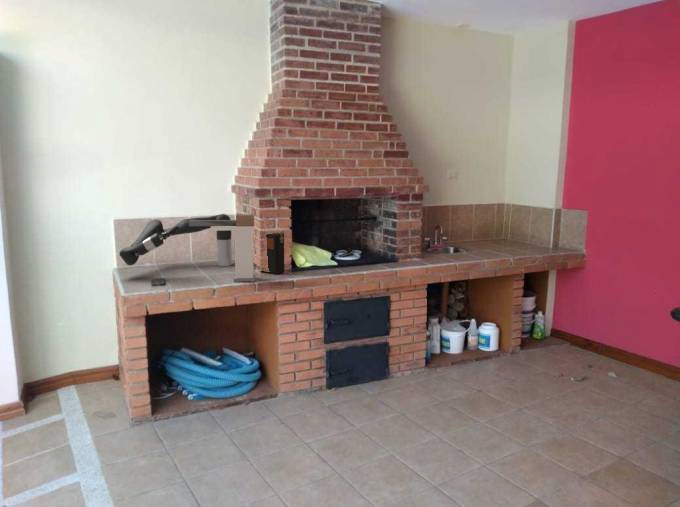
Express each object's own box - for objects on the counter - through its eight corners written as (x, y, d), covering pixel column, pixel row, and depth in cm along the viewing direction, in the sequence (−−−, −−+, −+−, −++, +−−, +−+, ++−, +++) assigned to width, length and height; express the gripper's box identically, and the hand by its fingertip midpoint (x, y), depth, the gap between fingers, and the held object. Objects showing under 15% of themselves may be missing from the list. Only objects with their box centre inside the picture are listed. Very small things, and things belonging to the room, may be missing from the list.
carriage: (190, 225, 309) (189, 214, 308) (254, 224, 314) (254, 214, 313) (188, 226, 302) (188, 216, 301) (254, 226, 308) (253, 215, 306)
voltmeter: (286, 272, 336) (285, 232, 331) (277, 275, 329) (277, 234, 324) (266, 269, 344) (265, 230, 339) (257, 272, 336) (256, 232, 332)
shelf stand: (213, 278, 319) (212, 224, 312) (255, 277, 322) (254, 224, 316) (212, 282, 309) (210, 227, 303) (255, 281, 312) (254, 226, 306)
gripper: (159, 245, 324) (182, 232, 324) (154, 250, 310) (179, 235, 310) (152, 234, 322) (175, 221, 323) (147, 238, 308) (171, 224, 309)
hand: (177, 228), depth 317 cm, fingers open, 8 cm apart
